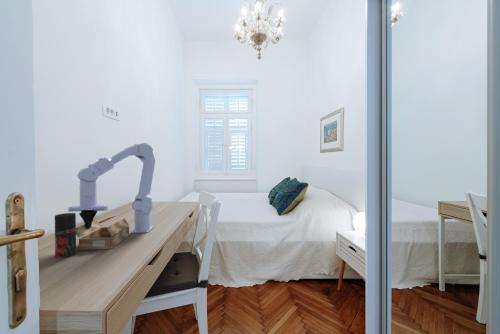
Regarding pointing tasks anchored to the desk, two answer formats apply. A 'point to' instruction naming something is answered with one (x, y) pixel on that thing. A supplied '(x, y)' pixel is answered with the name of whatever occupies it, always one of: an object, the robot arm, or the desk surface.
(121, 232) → the carton
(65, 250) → the deodorant
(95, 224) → the flap
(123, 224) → the flap
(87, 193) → the robot arm
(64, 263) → the desk surface
